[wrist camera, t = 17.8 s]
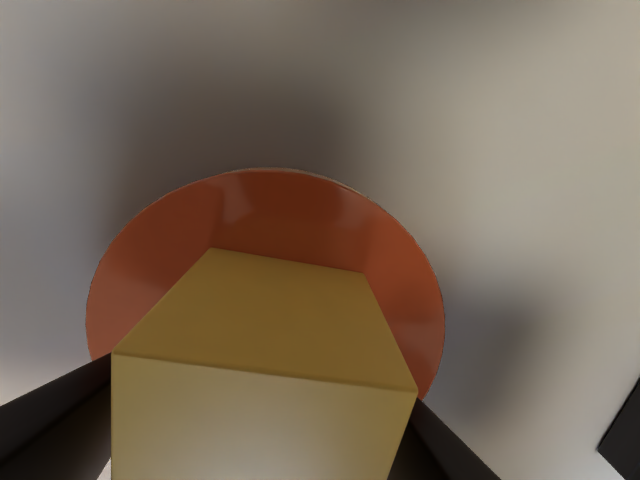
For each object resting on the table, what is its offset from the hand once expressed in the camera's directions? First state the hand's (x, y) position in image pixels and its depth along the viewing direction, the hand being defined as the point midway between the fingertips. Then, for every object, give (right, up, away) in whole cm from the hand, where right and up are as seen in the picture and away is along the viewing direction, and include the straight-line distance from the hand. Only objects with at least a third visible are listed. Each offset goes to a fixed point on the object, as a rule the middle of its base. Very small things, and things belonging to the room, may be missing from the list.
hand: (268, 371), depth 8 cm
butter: (0, 0, +1) cm, 1 cm away
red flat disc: (0, +1, +2) cm, 2 cm away
